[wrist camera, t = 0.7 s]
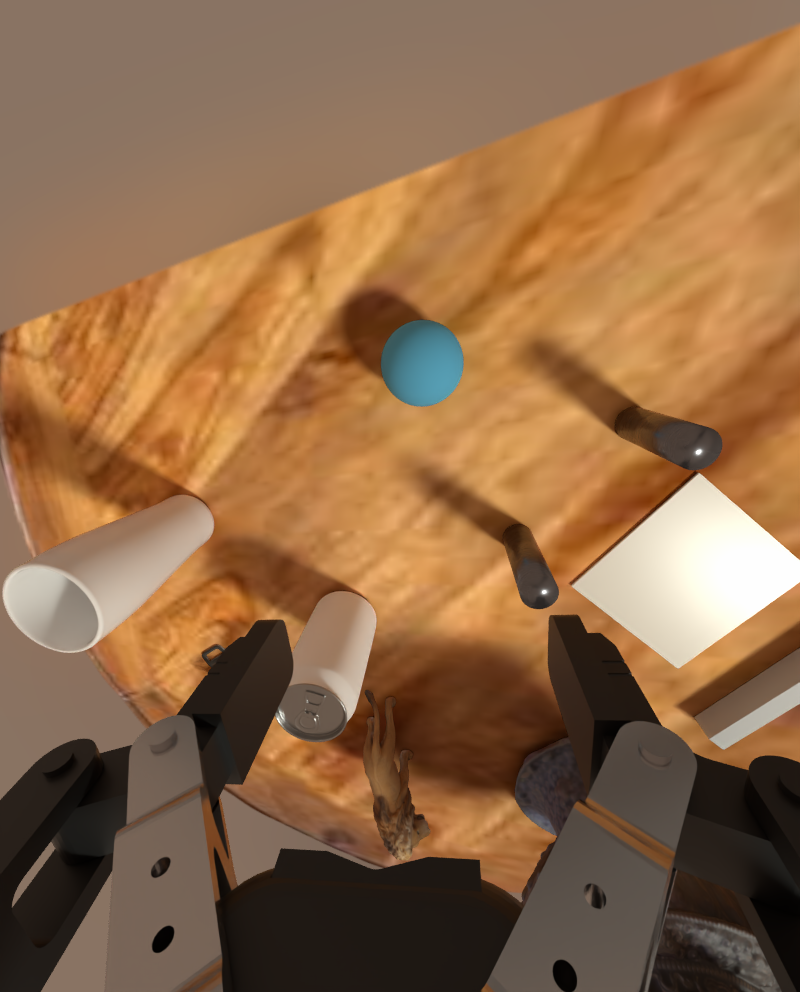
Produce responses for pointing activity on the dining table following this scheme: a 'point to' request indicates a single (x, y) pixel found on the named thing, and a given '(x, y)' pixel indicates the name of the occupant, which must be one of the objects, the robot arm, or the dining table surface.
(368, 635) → the can
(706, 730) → the wall
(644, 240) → the dining table surface
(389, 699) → the lion figurine
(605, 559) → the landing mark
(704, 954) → the decorative urn
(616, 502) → the dining table surface
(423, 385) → the ball
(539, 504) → the dining table surface
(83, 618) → the drinking glass
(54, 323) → the dining table surface
